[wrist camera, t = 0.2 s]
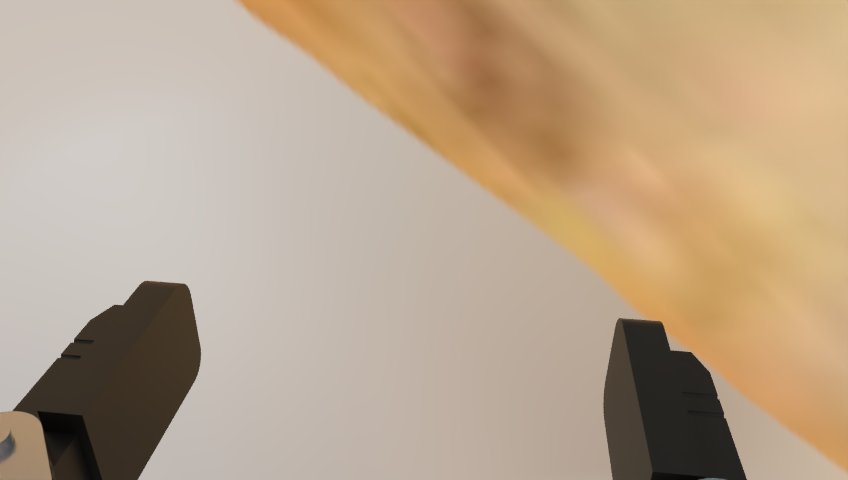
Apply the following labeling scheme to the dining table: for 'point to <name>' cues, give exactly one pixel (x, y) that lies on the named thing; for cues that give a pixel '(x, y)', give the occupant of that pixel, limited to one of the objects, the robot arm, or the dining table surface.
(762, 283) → the dining table surface
